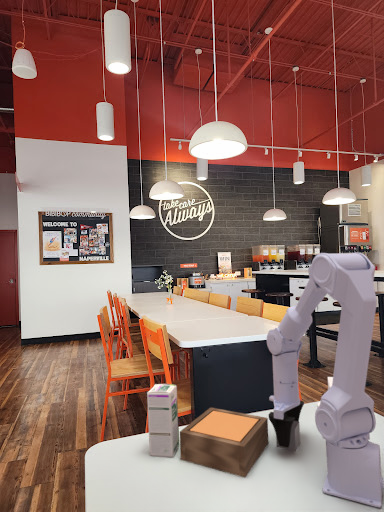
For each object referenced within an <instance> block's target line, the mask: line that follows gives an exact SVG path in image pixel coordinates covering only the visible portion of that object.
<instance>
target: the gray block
mask: <svg viewBox="0 0 384 512" xmlns="http://www.w3.org/2000/svg"><path fill="white" fill-rule="evenodd" d="M300 431H301V430H300V421H299V422H298V421H293V424H292V428H291V434H290V444H289V447H288V448H287V447H282V446H279V443H278V440H277V436H276V435H275V439H276V440H275V441H276V442H275V443H276V448H279V449H283V450H287V451H291V452H297V451H298V448H299V446H300V445H301V432H300Z"/></svg>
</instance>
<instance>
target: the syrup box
mask: <svg viewBox="0 0 384 512" xmlns="http://www.w3.org/2000/svg"><path fill="white" fill-rule="evenodd" d="M177 389H178V387H177V385H176V384H173V383H158V384H157V383H155V384H154V386H153V387H151V388H150V389H149V391H147V392H146V397H147V399H146V403H147V421H148V443H149V445H148V446H149V448H148V449H149V455H150V456H153V457H159V458H161V457H162V458H165V457H166V458H174V457H175V454H176V452H177V450H178V448H179V447H180V428H179V427H180V426H179V408H178V390H177Z"/></svg>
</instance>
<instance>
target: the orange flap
mask: <svg viewBox="0 0 384 512" xmlns="http://www.w3.org/2000/svg"><path fill="white" fill-rule="evenodd" d="M258 422H259V419H255V418H249V417H244V416H239V415H234V414H228V413H223V412H218V411H212V412H211V413H210V414H209V415H208V416H206V417H205V418H204V419H203V420H201V421H200V422H199V423H198V424H197V425H195V426H194V427H193V428H192V429H190V431H191V432H196V433H200V434H204V435H209V436H213V437H217V438H222V439H226V440H230V441H235V442H239V443H241V442H242V441H243V440H244V438H245V437H246V436H247V435H248V434H249V432H250V431H251V430H252V429H253V428H254V427H255V425H256V424H257V423H258Z"/></svg>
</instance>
